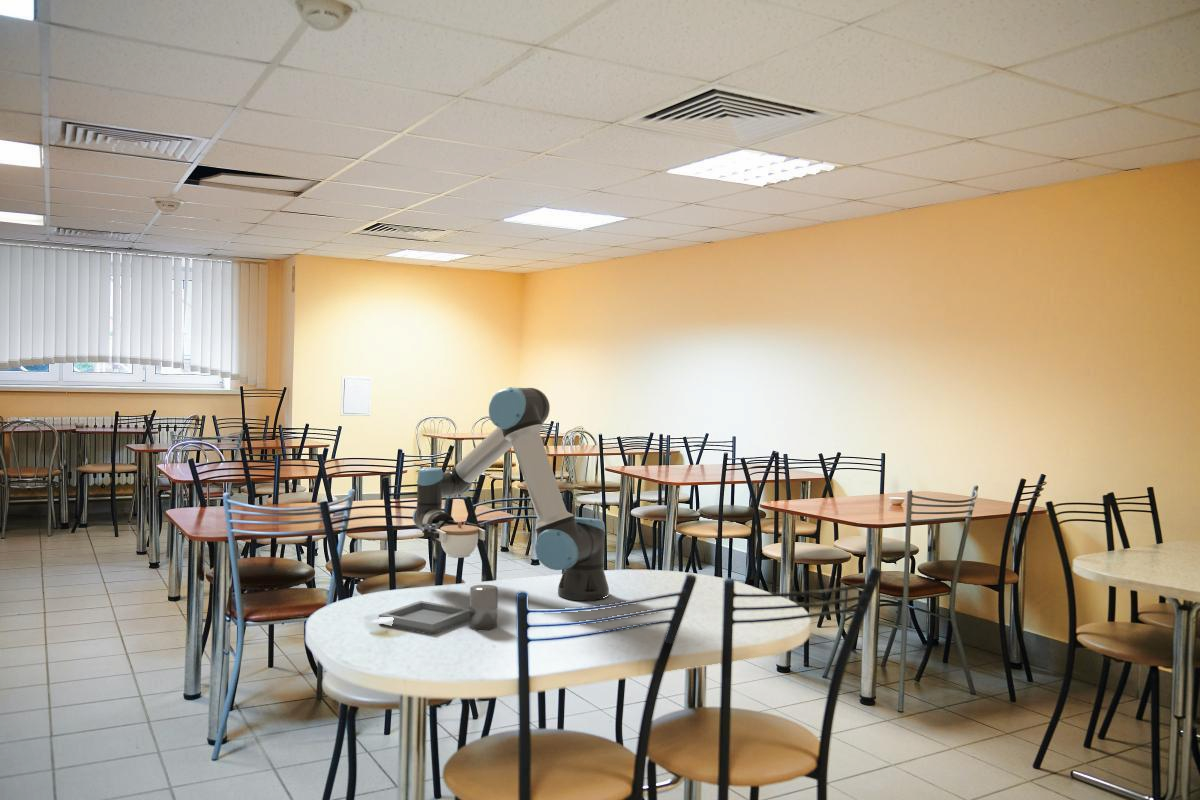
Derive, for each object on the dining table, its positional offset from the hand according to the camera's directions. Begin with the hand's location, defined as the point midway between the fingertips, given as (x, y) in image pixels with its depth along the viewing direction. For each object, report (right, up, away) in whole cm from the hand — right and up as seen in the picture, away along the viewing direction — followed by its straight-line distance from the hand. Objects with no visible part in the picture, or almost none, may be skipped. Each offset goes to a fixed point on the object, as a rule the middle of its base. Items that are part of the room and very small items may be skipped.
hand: (464, 536), depth 241 cm
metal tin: (+7, -20, -17) cm, 27 cm away
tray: (-8, -20, -14) cm, 25 cm away
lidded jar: (-2, -6, +4) cm, 7 cm away
